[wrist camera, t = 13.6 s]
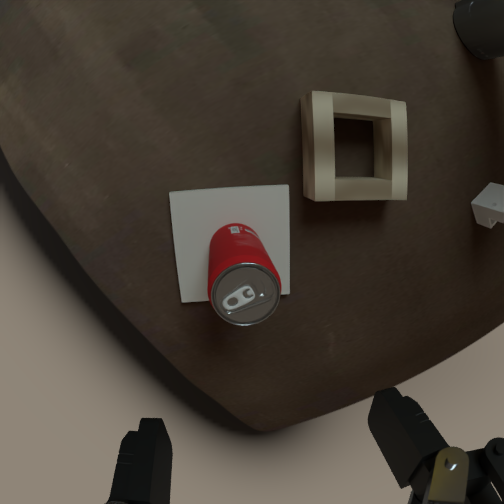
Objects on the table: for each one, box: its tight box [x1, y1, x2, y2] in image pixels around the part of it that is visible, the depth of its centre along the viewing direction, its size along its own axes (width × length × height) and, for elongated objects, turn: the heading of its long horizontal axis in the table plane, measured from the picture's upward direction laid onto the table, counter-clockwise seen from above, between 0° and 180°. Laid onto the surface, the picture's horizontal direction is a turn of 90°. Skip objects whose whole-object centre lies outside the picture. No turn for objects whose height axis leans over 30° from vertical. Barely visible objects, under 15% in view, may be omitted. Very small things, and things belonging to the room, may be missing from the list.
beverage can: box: [207, 223, 282, 326], centre depth 26 cm, size 5×5×12 cm
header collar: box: [300, 91, 408, 201], centre depth 29 cm, size 10×10×4 cm
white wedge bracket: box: [471, 182, 504, 228], centre depth 32 cm, size 4×10×9 cm, turn 127°
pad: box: [169, 185, 290, 302], centre depth 32 cm, size 12×12×1 cm
